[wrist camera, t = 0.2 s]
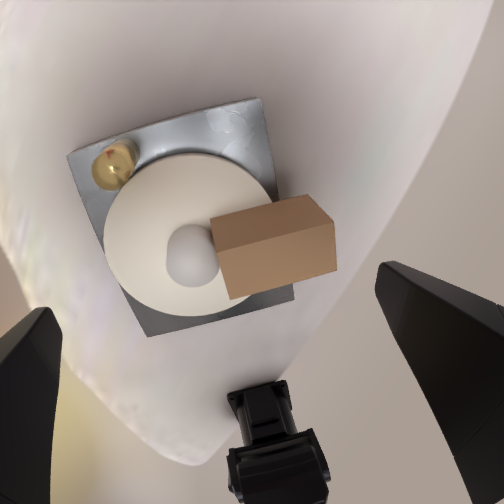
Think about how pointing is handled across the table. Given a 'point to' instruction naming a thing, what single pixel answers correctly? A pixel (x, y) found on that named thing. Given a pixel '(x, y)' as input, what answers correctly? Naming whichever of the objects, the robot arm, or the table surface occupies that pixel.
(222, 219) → the flange
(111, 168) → the gold rounded piece
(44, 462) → the robot arm
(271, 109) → the table surface
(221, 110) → the base plate
